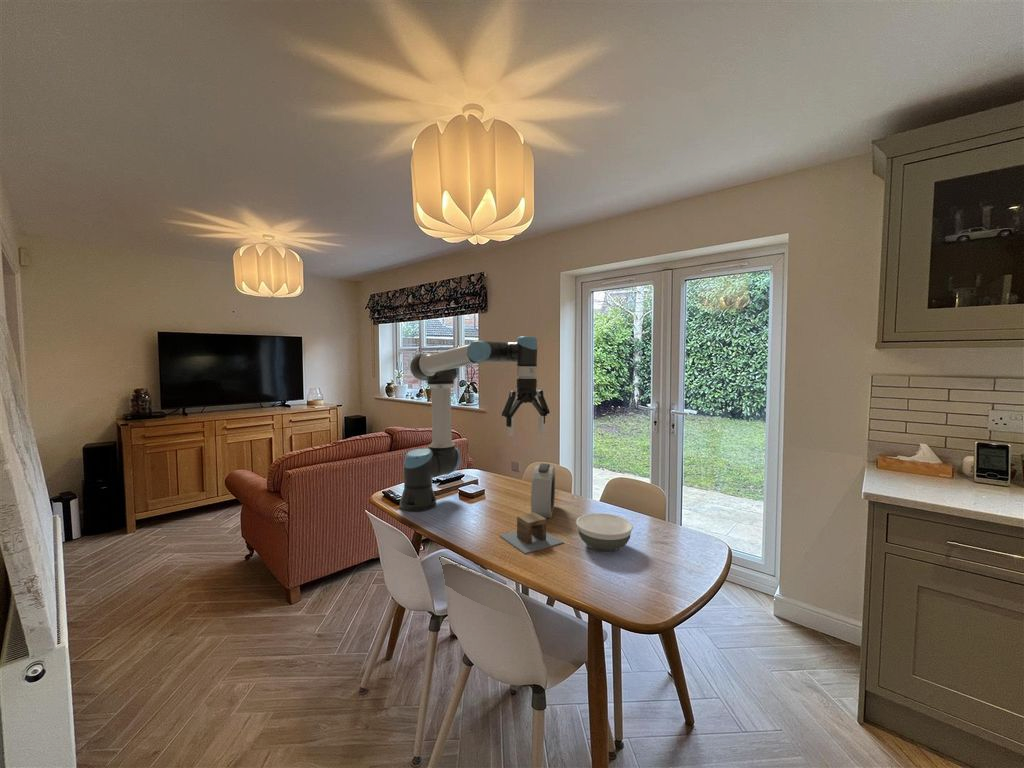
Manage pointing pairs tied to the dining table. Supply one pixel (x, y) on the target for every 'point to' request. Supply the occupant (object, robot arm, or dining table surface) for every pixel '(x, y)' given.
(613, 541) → the bowl
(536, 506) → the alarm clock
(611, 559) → the dining table surface
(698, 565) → the dining table surface
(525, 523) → the notched open box
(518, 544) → the mat
